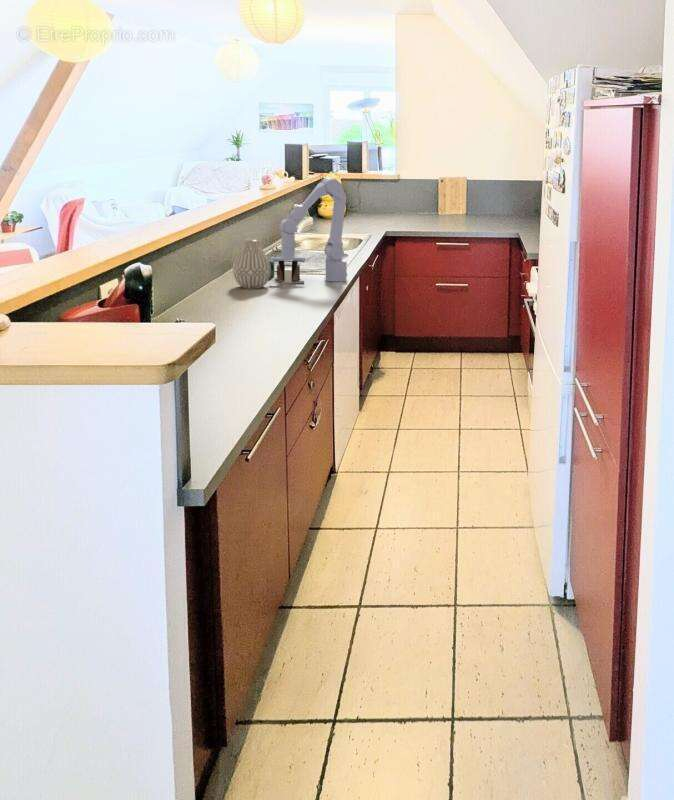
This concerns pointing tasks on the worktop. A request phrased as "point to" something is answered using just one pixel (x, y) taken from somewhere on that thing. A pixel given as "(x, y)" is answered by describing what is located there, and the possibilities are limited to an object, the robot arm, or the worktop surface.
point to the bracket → (271, 268)
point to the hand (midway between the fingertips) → (288, 278)
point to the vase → (251, 266)
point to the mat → (298, 282)
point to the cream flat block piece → (288, 274)
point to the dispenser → (279, 272)
